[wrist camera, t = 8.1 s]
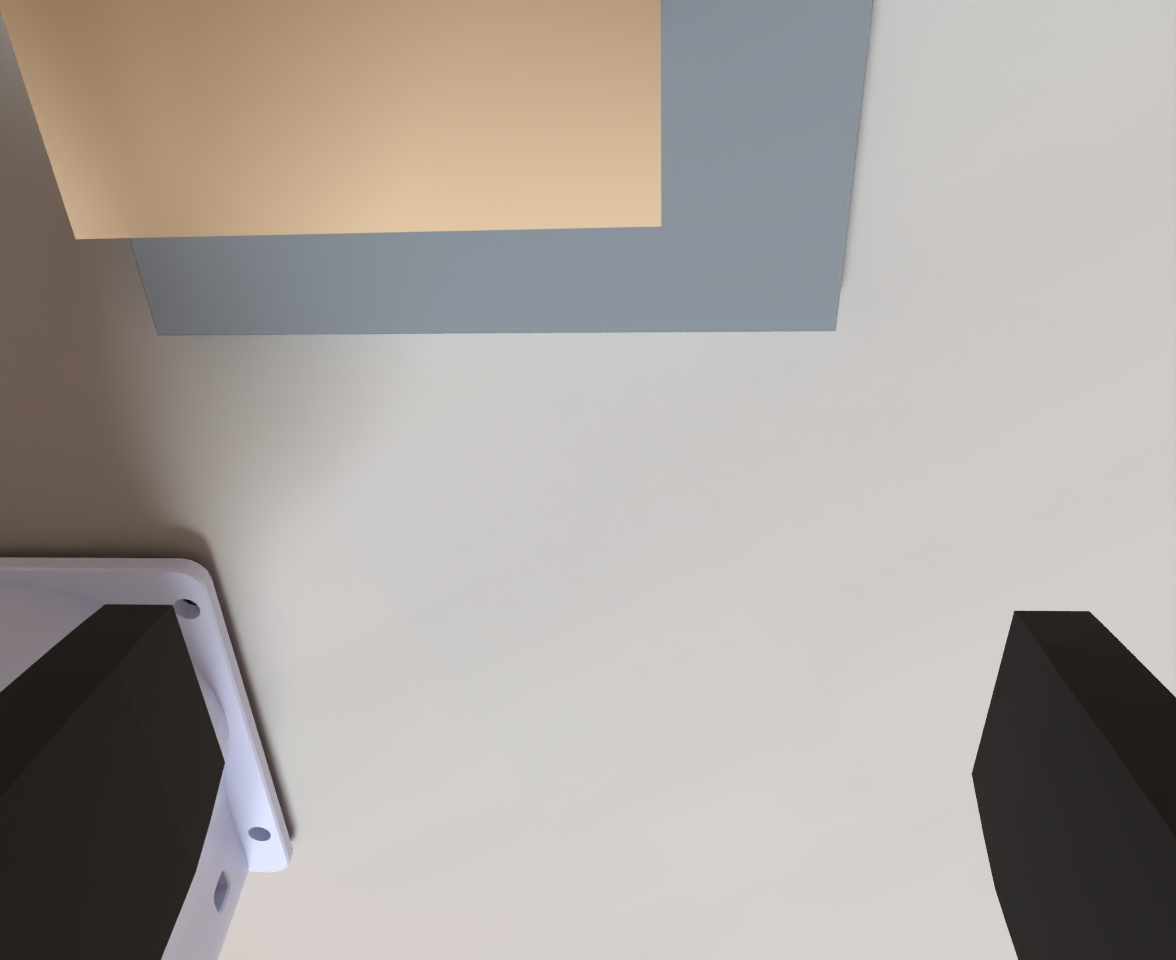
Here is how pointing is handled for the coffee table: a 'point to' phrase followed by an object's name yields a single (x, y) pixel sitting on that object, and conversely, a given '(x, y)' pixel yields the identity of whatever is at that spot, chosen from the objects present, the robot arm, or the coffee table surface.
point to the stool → (345, 114)
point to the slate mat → (599, 255)
